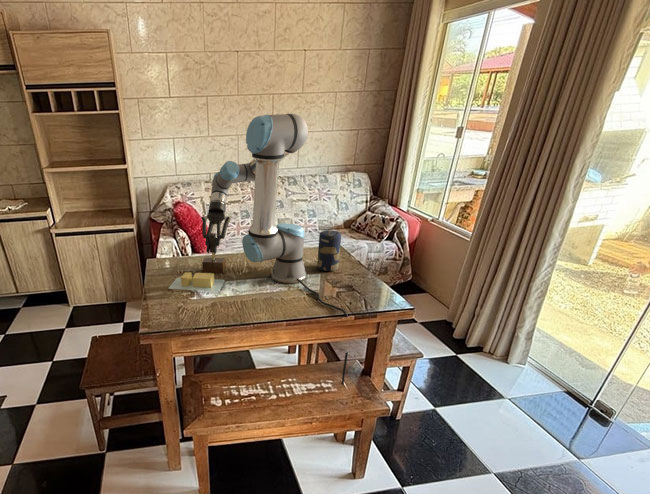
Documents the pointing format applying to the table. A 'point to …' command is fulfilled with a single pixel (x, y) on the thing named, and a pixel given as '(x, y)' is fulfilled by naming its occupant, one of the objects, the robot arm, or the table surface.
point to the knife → (212, 245)
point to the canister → (329, 250)
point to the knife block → (214, 265)
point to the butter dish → (215, 287)
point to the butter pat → (186, 279)
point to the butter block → (203, 280)
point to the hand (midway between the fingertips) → (211, 252)
